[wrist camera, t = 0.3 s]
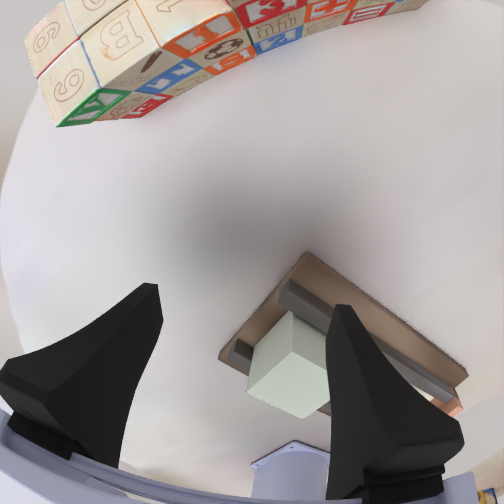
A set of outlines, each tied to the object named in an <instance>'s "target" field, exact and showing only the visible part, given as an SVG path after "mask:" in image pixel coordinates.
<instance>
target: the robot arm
mask: <svg viewBox="0 0 504 504" xmlns="http://www.w3.org/2000/svg"><path fill="white" fill-rule="evenodd" d="M162 324H163V315H162V309H161V303H160V297H159V291H158V284H151V283H143V284H142V285H140V286H139V287H138V288H136V289H135V290H134V291H133V292H131V293H130V294H129V295H128V296H126V297H125V298H124V299H123V300H121V301H120V302H119V303H117V304H116V305H115V306H114V307H112V308H111V309H110V310H108V311H107V312H106V313H104V314H103V315H101V316H100V317H99V318H97V319H96V320H94V321H93V322H92V323H90V324H88V325H87V326H85V327H84V328H82V329H80V330H79V331H77V332H75V333H74V334H72V335H70V336H68V337H66V338H64V339H62V340H60V341H58V342H56V343H54V344H52V345H50V346H47V347H45V348H42V349H40V350H37V351H34V352H32V353H29V354H25V355H22V356H19V357H15V358H11V359H8V360H7V361H6V363H5V364H4V366H3V367H2V369H1V370H0V395H1V396H2V398H3V399H4V400H5V401H6V402H7V404H8V405H9V406H10V407H11V408H12V409H13V410H14V412H13V414H12V416H11V415H9V414H8V413H7V412H5V411H4V410H2V409H1V408H0V471H1V472H3V473H4V474H6V475H7V476H8V477H10V478H12V479H13V480H14V481H16V482H17V483H19V484H21V485H22V486H24V487H25V488H27V489H28V490H30V491H32V492H33V493H35V494H37V495H38V496H40V497H42V498H44V499H45V500H47V501H49V502H51V503H53V504H149V503H146V502H142V501H139V500H135V499H132V498H129V497H128V496H127V495H126V493H125V492H123V491H126V492H129V493H132V494H135V495H139V496H142V497H145V498H149V499H152V500H156V501H160V502H163V503H167V504H479V500H478V494H477V489H476V483H475V478H474V473H473V472H468V473H465V474H461V475H458V476H454V477H451V478H448V479H446V480H443V481H442V475H441V474H444V473H445V467H444V463H446V462H447V461H448V460H450V459H451V458H452V457H454V456H455V455H456V454H457V453H458V452H459V451H460V450H461V449H462V448H463V446H464V438H463V434H462V431H461V427H460V424H459V422H458V421H457V420H455V419H454V418H453V417H451V416H449V415H448V414H446V413H445V412H443V411H442V410H440V409H439V408H438V407H436V406H435V405H434V404H432V403H431V402H430V401H429V400H427V399H426V398H425V397H424V396H423V395H421V394H420V393H419V392H418V391H417V390H416V389H415V388H414V387H413V386H412V385H410V384H409V383H408V382H407V381H406V380H405V379H404V378H403V376H402V375H401V374H400V373H399V372H398V371H397V370H396V369H395V368H394V367H393V365H392V364H391V363H390V362H389V361H388V359H387V358H386V357H385V355H384V354H383V353H382V351H381V350H380V349H379V347H378V346H377V344H376V343H375V342H374V340H373V339H372V337H371V336H370V334H369V333H368V331H367V330H366V328H365V327H364V325H363V323H362V322H361V320H360V319H359V317H358V316H357V314H356V312H355V311H354V309H353V308H352V306H351V305H346V304H336V305H335V309H334V312H333V316H332V319H331V323H330V326H329V329H328V333H327V336H326V339H325V355H326V369H327V378H328V386H329V394H330V403H331V450H330V453H327V452H324V451H321V450H318V449H315V448H312V447H310V446H307V445H304V444H302V443H299V442H295V441H294V442H291V443H289V444H288V445H286V446H284V447H282V448H281V449H279V450H277V451H275V452H273V453H272V454H270V455H268V456H266V457H264V458H262V459H260V460H258V461H257V462H255V463H253V464H251V465H250V467H251V468H253V469H255V477H254V483H253V490H252V496H251V498H248V497H239V496H231V495H223V494H217V493H211V492H205V491H199V490H194V489H189V488H184V487H180V486H175V485H171V484H167V483H163V482H159V481H155V480H152V479H148V478H145V477H141V476H138V475H134V474H131V473H128V472H125V471H122V470H119V469H118V464H119V458H120V452H121V446H122V440H123V436H124V431H125V426H126V422H127V418H128V415H129V411H130V407H131V404H132V400H133V397H134V394H135V390H136V388H137V385H138V383H139V380H140V378H141V376H142V374H143V371H144V369H145V367H146V365H147V363H148V360H149V358H150V356H151V354H152V352H153V350H154V347H155V345H156V343H157V340H158V337H159V334H160V331H161V328H162ZM327 467H329V475H328V483H327V491H326V468H327ZM111 486H112V487H111ZM113 487H115V488H113ZM116 488H117V489H116ZM118 489H120V490H123V491H120V490H118Z"/></svg>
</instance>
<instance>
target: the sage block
mask: <svg viewBox="0 0 504 504" xmlns="http://www.w3.org/2000/svg"><path fill="white" fill-rule="evenodd" d="M326 336H327V334H326V333H325V332H323V331H321V330H320V329H318V328H317V327H315V326H313V325H312V324H310V323H309V322H307V321H305V320H304V319H302V318H301V317H299V316H297V315H296V314H294V313H293V312H291V311H288V312H287V313H286V314H285V315H284V316H283V317H282V318H281V319H280V320H279V321H278V322H277V323H276V324H275V326H274V327H273V328H272V329H271V330H270V331H269V332H268V333H267V334H266V335H265V336H264V337H263V338H262V339H261V340H260V341H259V342H258V343H257V344H256V345H255V347H254V352H253V357H252V363H251V368H250V373H249V378H248V383H247V389H246V393H248V394H250V395H252V396H254V397H256V398H258V399H260V400H262V401H264V402H266V403H268V404H270V405H272V406H274V407H276V408H279V409H281V410H283V411H285V412H287V413H289V414H292V415H294V416H296V417H298V418H301V419H304V418H305V417H307V416H308V415H310V414H311V413H313V412H314V411H316V410H317V409H318V408H320V407H321V406H323V405H324V404H325V403H327V402H328V401H330V394H329V386H328V378H327V369H326V355H325V339H326Z"/></svg>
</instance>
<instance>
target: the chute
mask: <svg viewBox="0 0 504 504" xmlns="http://www.w3.org/2000/svg"><path fill="white" fill-rule="evenodd" d="M336 304H346V305H351V306H352V308H353V309H354V311H355V312H356V314H357V316H358V317H359V319H360V320H361V322H362V323H363V325H364V327H365V328H366V330H367V331H368V333H369V334H370V336H371V337H372V339H373V340H374V342H375V343H376V344H377V346H378V347H379V349H380V350H381V351H382V353H383V354H384V355H385V357H386V358H387V359H388V361H389V362H390V363H391V364H392V365H393V367H394V368H395V369H396V370H397V371H398V372H399V373H400V374H401V375H402V376H403V378H404V379H405V380H406V381H407V382H408V383H409V384H410V385H412V386H413V387H414V388H415V389H416V390H417V391H418V392H419V393H420V394H421V395H423V396H424V397H425V398H426V399H427V400H429V401H430V402H431V403H432V404H434V405H435V406H436V407H438V408H439V409H440V410H442V411H443V412H445V413H446V414H448V415H449V416H451V417H454V416H455V415H456V414H458V413H459V412H460V411H461V410H463V407H462V405H461V402H460V400H459V397H458V395H457V393H456V390H455V387H457V386H458V385H459V384H460V383H461V382H463V381H464V380H465V379H466V378H467V377H468V376H469V375H468V373H467V371H466V369H464V368H463V367H462V366H461V365H459V364H458V363H457V362H456V361H454V360H453V359H452V358H450V357H449V356H448V355H447V354H445V353H444V352H443V351H441V350H440V349H439V348H438V347H436V346H435V345H434V344H432V343H431V342H430V341H428V340H427V339H426V338H425V337H423V336H422V335H421V334H419V333H418V332H417V331H415V330H414V329H413V328H411V327H410V326H409V325H407V324H406V323H405V322H403V321H402V320H401V319H399V318H398V317H397V316H395V315H394V314H393V313H391V312H390V311H389V310H387V309H386V308H385V307H383V306H382V305H381V304H379V303H378V302H376V301H375V300H374V299H372V298H371V297H370V296H368V295H367V294H366V293H364V292H363V291H361V290H360V289H359V288H357V287H356V286H355V285H353V284H352V283H350V282H349V281H348V280H346V279H345V278H344V277H342V276H341V275H339V274H338V273H337V272H335V271H334V270H332V269H331V268H330V267H328V266H327V265H325V264H324V263H323V262H321V261H320V260H318V259H317V258H316V257H314V256H313V255H311V254H310V253H308V252H307V251H306V253H305V254H304V255H303V256H302V257H301V259H300V260H299V261H298V262H297V263H296V265H295V266H294V267H293V268H292V269H291V271H290V272H289V273H288V274H287V275H286V277H285V278H284V279H283V280H282V281H281V282H280V284H279V285H278V286H277V287H276V288H275V290H274V291H273V292H272V293H271V294H270V295H269V297H268V298H267V299H266V300H265V301H264V302H263V304H262V305H261V306H260V307H259V308H258V309H257V310H256V312H255V313H254V314H253V315H252V316H251V317H250V318H249V320H248V321H247V322H246V323H245V324H244V325H243V326H242V328H241V329H240V330H239V331H238V332H237V333H236V334H235V336H234V337H233V338H232V339H231V340H230V341H229V342H228V343H227V345H226V346H225V347H224V348H223V349H222V350H221V351H220V353H219V356H218V360H220V361H222V362H223V363H225V364H227V365H229V366H230V367H232V368H234V369H236V370H238V371H240V372H241V373H243V374H245V375H247V376H249V373H250V368H251V363H252V357H253V352H254V347H255V345H256V344H257V343H258V342H259V341H260V340H261V339H262V338H263V337H264V336H265V335H266V334H267V333H268V332H269V331H270V330H271V329H272V328H273V327H274V326H275V324H276V323H277V322H278V321H279V320H280V319H281V318H282V317H283V316H284V315H285V314H286V313H287V312H288V311H291V312H293V313H294V314H296V315H297V316H299V317H301V318H302V319H304V320H305V321H307V322H309V323H310V324H312V325H313V326H315V327H317V328H318V329H320V330H321V331H323V332H325V333H326V334H327V333H328V329H329V326H330V323H331V319H332V316H333V312H334V309H335V305H336ZM317 410H318V411H320V412H322V413H324V414H327V415H329V416H331V403H330V401H328V402H327V403H325V404H324V405H323V406H321V407H320V408H318V409H317Z"/></svg>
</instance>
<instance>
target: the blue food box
mask: <svg viewBox="0 0 504 504" xmlns="http://www.w3.org/2000/svg"><path fill="white" fill-rule="evenodd" d="M477 494H478V500H479V504H498V503H497V499H496V495H495V492H494V488H491V489H487V490H483V491H479V492H477Z"/></svg>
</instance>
